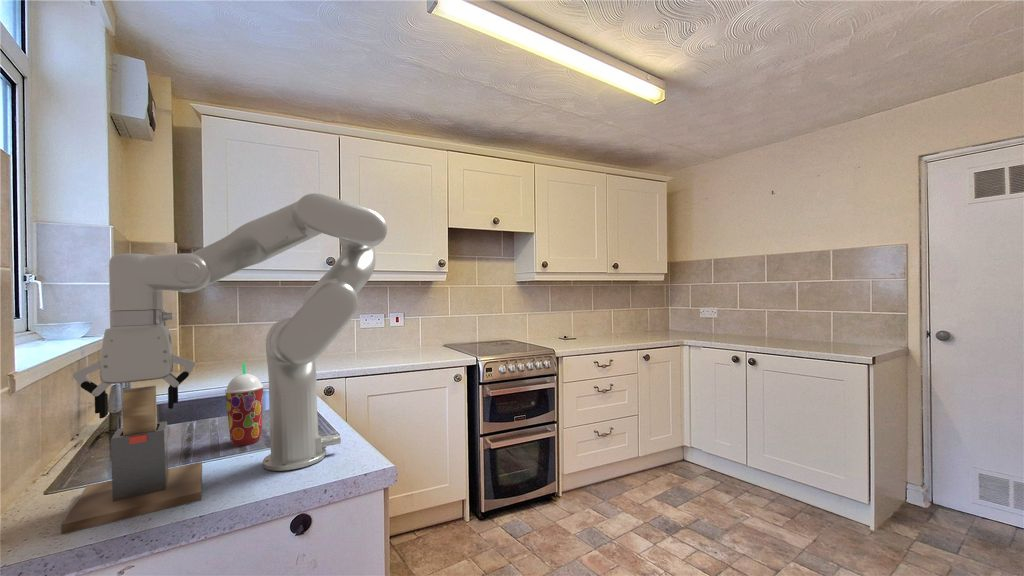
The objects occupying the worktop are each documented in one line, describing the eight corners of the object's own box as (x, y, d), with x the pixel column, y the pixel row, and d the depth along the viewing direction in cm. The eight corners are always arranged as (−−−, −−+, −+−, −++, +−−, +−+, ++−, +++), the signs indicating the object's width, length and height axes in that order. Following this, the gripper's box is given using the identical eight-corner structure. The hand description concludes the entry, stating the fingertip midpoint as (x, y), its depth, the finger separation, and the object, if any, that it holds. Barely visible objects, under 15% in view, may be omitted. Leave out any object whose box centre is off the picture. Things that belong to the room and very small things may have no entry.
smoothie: (257, 434, 117) (255, 359, 117) (270, 440, 111) (268, 361, 112) (221, 443, 110) (219, 364, 110) (233, 450, 105) (231, 367, 105)
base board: (202, 468, 94) (201, 461, 94) (201, 500, 79) (200, 491, 79) (87, 493, 84) (87, 485, 84) (61, 534, 69) (61, 524, 69)
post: (159, 478, 85) (156, 385, 85) (156, 486, 81) (154, 389, 81) (127, 485, 82) (125, 389, 82) (124, 493, 79) (121, 393, 79)
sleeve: (168, 476, 87) (167, 421, 87) (165, 490, 80) (163, 430, 80) (119, 487, 83) (117, 428, 83) (112, 502, 76) (110, 439, 76)
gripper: (194, 317, 90) (196, 400, 90) (77, 322, 80) (79, 416, 80) (193, 318, 84) (195, 408, 84) (67, 323, 74) (68, 425, 74)
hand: (138, 411), depth 82 cm, fingers open, 9 cm apart
